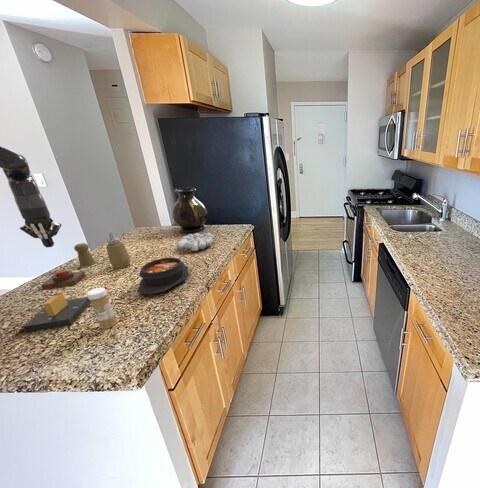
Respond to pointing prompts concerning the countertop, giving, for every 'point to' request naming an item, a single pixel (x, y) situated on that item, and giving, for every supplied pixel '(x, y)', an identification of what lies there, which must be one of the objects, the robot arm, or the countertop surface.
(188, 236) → the grey lumpy cluster
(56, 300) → the yellow cheese wedge
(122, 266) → the squeeze bottle
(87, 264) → the green pepper mill
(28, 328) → the dark slate board
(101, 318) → the sprinkles bottle
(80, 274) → the button block
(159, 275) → the casserole
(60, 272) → the button
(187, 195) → the dark glazed vase
